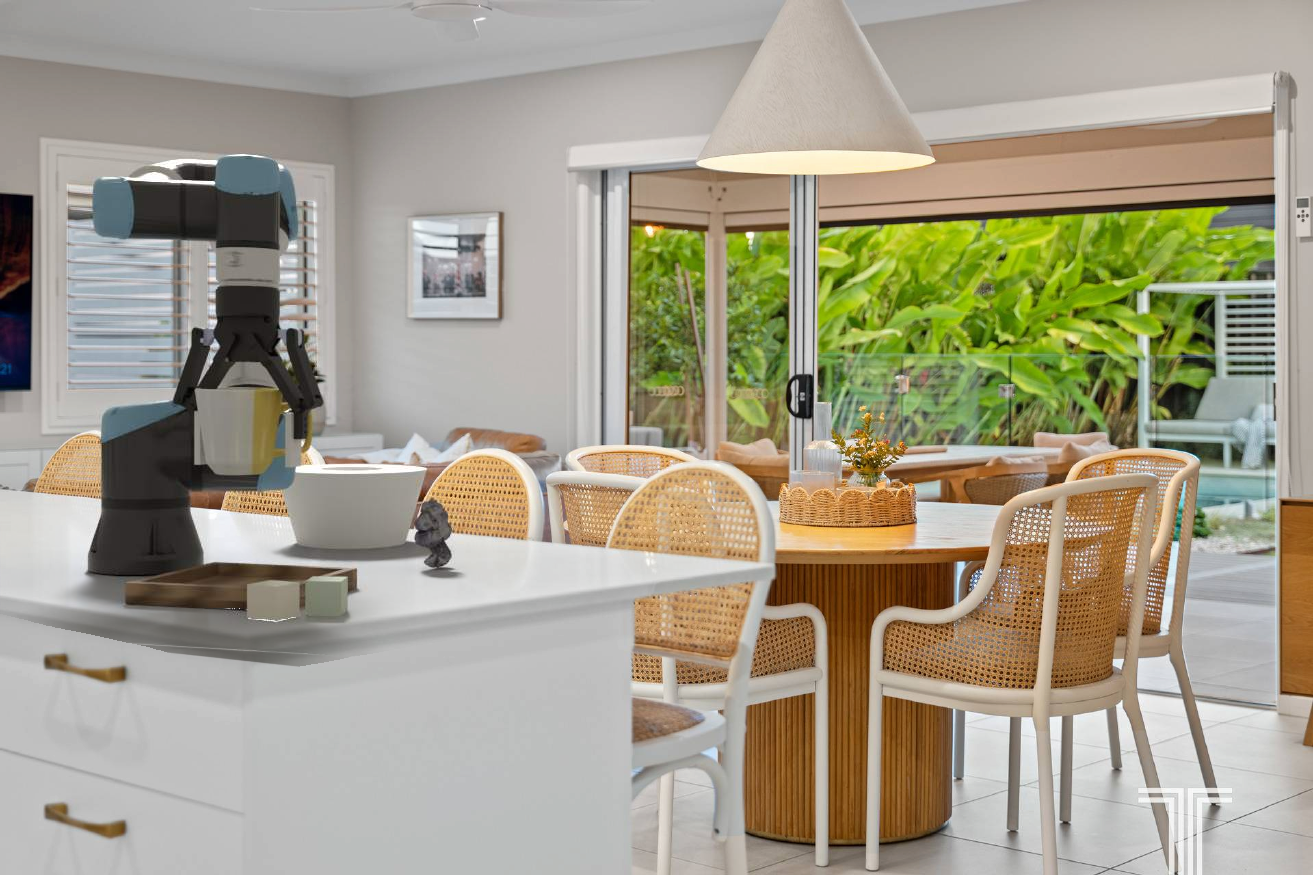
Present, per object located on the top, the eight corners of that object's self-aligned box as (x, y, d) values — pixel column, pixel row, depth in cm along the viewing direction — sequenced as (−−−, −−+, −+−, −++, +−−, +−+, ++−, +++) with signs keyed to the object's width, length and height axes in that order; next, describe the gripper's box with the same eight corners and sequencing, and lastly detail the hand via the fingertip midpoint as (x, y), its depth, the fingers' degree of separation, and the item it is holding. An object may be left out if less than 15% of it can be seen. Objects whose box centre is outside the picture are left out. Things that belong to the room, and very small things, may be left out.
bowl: (415, 552, 222) (415, 474, 221) (258, 550, 222) (258, 472, 221) (436, 535, 246) (436, 464, 245) (294, 534, 246) (294, 463, 245)
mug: (186, 476, 170) (186, 387, 170) (204, 470, 180) (204, 386, 180) (305, 477, 172) (305, 389, 171) (316, 471, 182) (316, 388, 181)
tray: (125, 603, 169) (125, 582, 169) (214, 580, 188) (214, 561, 188) (282, 612, 165) (282, 590, 164) (356, 587, 184) (357, 568, 184)
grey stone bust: (445, 570, 201) (445, 499, 200) (408, 569, 202) (408, 498, 202) (457, 566, 206) (458, 496, 206) (422, 564, 207) (422, 495, 207)
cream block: (246, 620, 159) (247, 584, 159) (270, 615, 163) (270, 579, 163) (276, 623, 158) (276, 586, 158) (299, 617, 161) (299, 582, 161)
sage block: (305, 616, 162) (305, 581, 162) (312, 611, 166) (312, 576, 166) (341, 616, 162) (341, 581, 162) (347, 611, 166) (347, 576, 166)
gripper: (142, 283, 174) (143, 464, 175) (324, 283, 169) (324, 470, 170) (176, 287, 181) (176, 460, 182) (352, 287, 176) (351, 466, 177)
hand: (247, 465), depth 176 cm, fingers closed on mug, 11 cm apart
